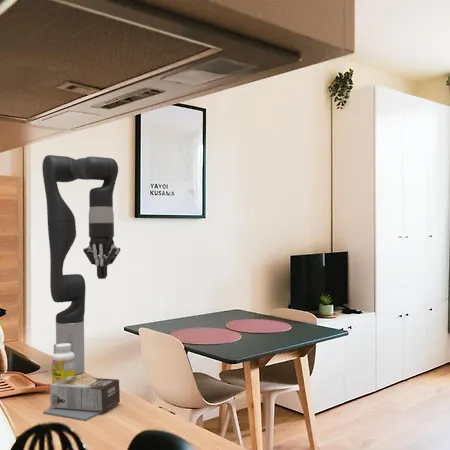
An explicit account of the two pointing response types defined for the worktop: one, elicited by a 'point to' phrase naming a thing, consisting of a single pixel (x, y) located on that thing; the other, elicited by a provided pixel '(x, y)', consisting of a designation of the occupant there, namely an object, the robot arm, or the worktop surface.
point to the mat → (73, 413)
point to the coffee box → (85, 393)
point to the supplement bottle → (63, 362)
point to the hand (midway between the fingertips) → (102, 278)
